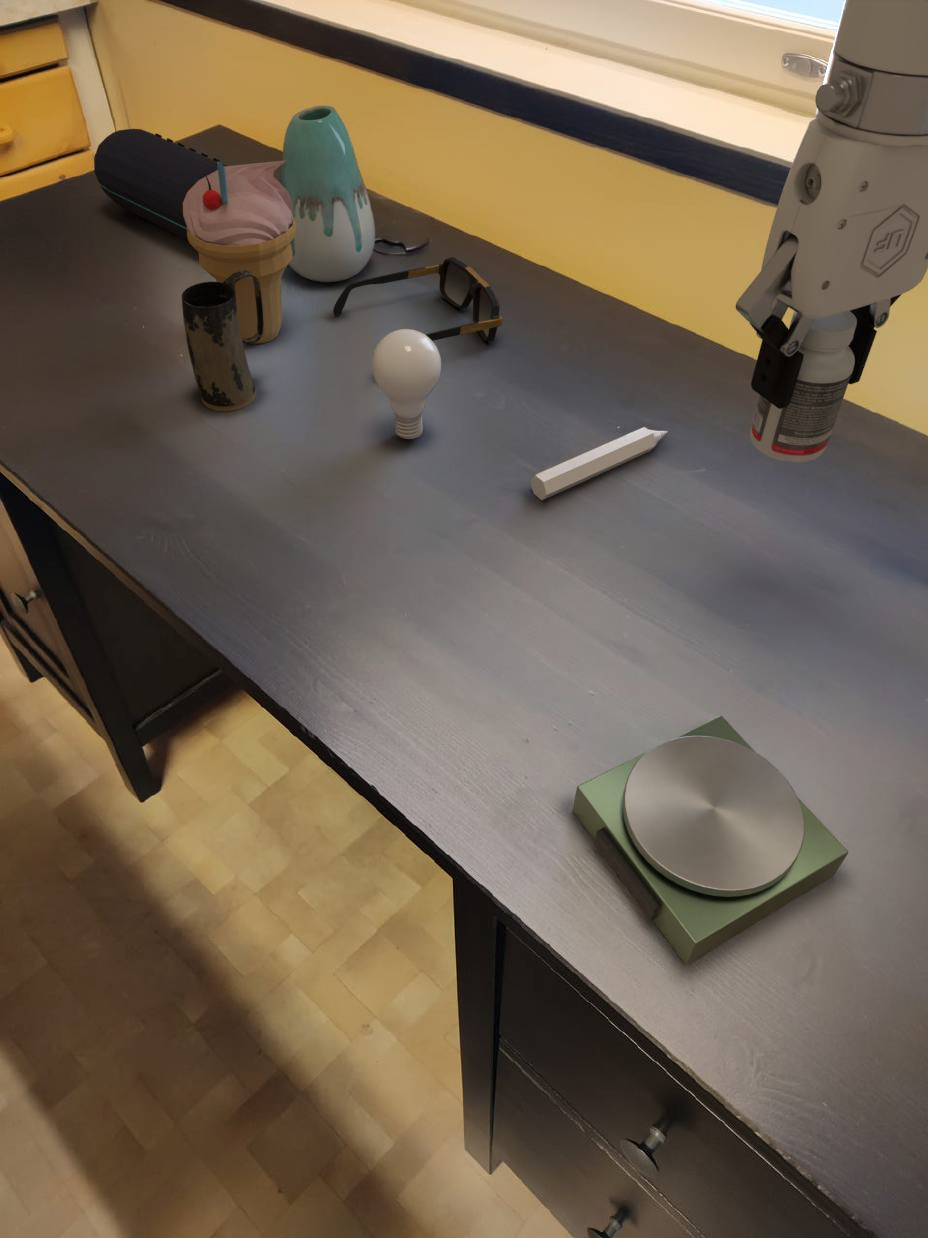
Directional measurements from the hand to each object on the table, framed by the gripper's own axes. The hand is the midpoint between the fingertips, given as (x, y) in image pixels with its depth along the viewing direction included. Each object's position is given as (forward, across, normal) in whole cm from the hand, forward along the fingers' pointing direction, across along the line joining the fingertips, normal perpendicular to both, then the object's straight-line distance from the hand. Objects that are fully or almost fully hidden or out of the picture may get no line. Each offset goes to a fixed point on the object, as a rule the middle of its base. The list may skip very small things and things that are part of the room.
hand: (804, 383), depth 63 cm
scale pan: (+16, -18, -18) cm, 30 cm away
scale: (+19, -18, -18) cm, 32 cm away
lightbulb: (+19, -16, +31) cm, 40 cm away
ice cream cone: (+18, -22, +56) cm, 63 cm away
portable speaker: (+18, -22, +85) cm, 90 cm away
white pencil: (+19, -1, +18) cm, 26 cm away
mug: (+18, -28, +46) cm, 57 cm away
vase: (+18, -9, +66) cm, 69 cm away
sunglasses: (+19, -6, +48) cm, 52 cm away
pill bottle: (+5, 0, 0) cm, 5 cm away
